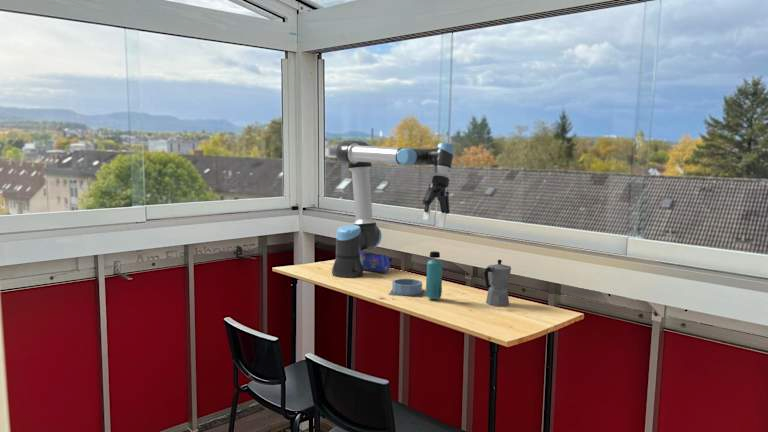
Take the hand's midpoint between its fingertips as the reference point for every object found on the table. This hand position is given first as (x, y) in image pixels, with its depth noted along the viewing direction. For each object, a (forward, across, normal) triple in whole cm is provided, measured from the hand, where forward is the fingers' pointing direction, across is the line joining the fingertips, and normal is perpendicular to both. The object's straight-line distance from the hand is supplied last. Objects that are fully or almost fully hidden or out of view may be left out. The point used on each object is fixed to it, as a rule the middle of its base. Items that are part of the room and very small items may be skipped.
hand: (433, 223), depth 250 cm
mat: (+32, -5, +5) cm, 32 cm away
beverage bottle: (+34, -7, -10) cm, 36 cm away
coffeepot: (+31, +4, -32) cm, 45 cm away
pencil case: (+22, +19, +44) cm, 53 cm away
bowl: (+31, -5, +5) cm, 32 cm away
